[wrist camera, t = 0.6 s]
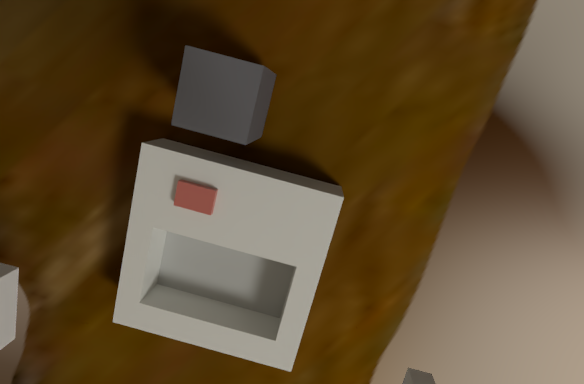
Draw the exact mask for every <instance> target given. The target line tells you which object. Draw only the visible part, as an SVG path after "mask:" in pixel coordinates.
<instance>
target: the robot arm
mask: <svg viewBox="0 0 584 384" xmlns="http://www.w3.org/2000/svg"><path fill="white" fill-rule="evenodd" d="M18 274H19V268H18V267H14V266H10V265H6V264H2V263H0V350H1V349H2V348H3V347H4V346H6V345H7V344H8V343H10V342H11V341H12V340H14V339H15V330H16V311H17V290H18ZM402 384H435V381H434V379H433V376H432V374H430V373H426V372H422V371H419V370H415V369H411V368H408V370H407V372H406V375H405V378H404V381H403V383H402Z"/></svg>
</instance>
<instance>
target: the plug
mask: <svg viewBox="0 0 584 384" xmlns="http://www.w3.org/2000/svg"><path fill="white" fill-rule="evenodd" d="M275 78H276V74H275V73H273V72H272V71H270V70H269V69H268V68H266V67H265V66H262V65H259V64H255V63H251V62H247V61H244V60H240V59H236V58H232V57H229V56H225V55H221V54H217V53H214V52H210V51H206V50H202V49H199V48H195V47H191V46H187V45H185V50H184V56H183V61H182V67H181V73H180V78H179V84H178V89H177V95H176V100H175V106H174V112H173V117H172V123H171V125H173V126H177V127H181V128H184V129H188V130H192V131H195V132H199V133H203V134H207V135H210V136H214V137H218V138H221V139H225V140H229V141H232V142H236V143H240V144H244V145H247V144H249V143H251V142H253V141H255V140H257V139H259V138H261V137H262V133H263V129H264V124H265V120H266V116H267V112H268V108H269V104H270V99H271V95H272V91H273V87H274V83H275Z"/></svg>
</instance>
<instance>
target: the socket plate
mask: <svg viewBox="0 0 584 384" xmlns="http://www.w3.org/2000/svg"><path fill="white" fill-rule="evenodd" d="M343 199H344V196H343V192H342V188H341V186H337V185H334V184H330V183H326V182H323V181H319V180H315V179H312V178H308V177H304V176H301V175H297V174H293V173H290V172H286V171H282V170H278V169H275V168H271V167H267V166H264V165H260V164H256V163H253V162H249V161H245V160H242V159H238V158H234V157H231V156H227V155H223V154H220V153H216V152H212V151H208V150H205V149H201V148H197V147H194V146H190V145H186V144H183V143H179V142H175V141H172V140H168V139H164V138H162V139H157V140H152V141H147V142H142V144H141V150H140V157H139V163H138V169H137V175H136V181H135V187H134V193H133V200H132V206H131V212H130V218H129V224H128V230H127V236H126V243H125V249H124V255H123V261H122V267H121V273H120V279H119V286H118V292H117V298H116V304H115V310H114V316H113V322H115V323H118V324H122V325H125V326H129V327H133V328H136V329H140V330H143V331H147V332H150V333H154V334H158V335H161V336H165V337H168V338H172V339H175V340H179V341H183V342H186V343H190V344H193V345H197V346H200V347H204V348H208V349H211V350H215V351H218V352H222V353H225V354H229V355H233V356H236V357H240V358H243V359H247V360H250V361H254V362H258V363H261V364H265V365H268V366H272V367H275V368H279V369H283V370H286V371H290V372H291V370H292V367H293V363H294V360H295V357H296V354H297V350H298V347H299V344H300V340H301V337H302V334H303V331H304V327H305V324H306V321H307V317H308V314H309V311H310V308H311V304H312V301H313V298H314V294H315V291H316V288H317V284H318V281H319V278H320V275H321V271H322V268H323V265H324V261H325V258H326V255H327V252H328V248H329V245H330V242H331V238H332V235H333V232H334V229H335V225H336V222H337V219H338V215H339V212H340V209H341V205H342V202H343Z"/></svg>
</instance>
